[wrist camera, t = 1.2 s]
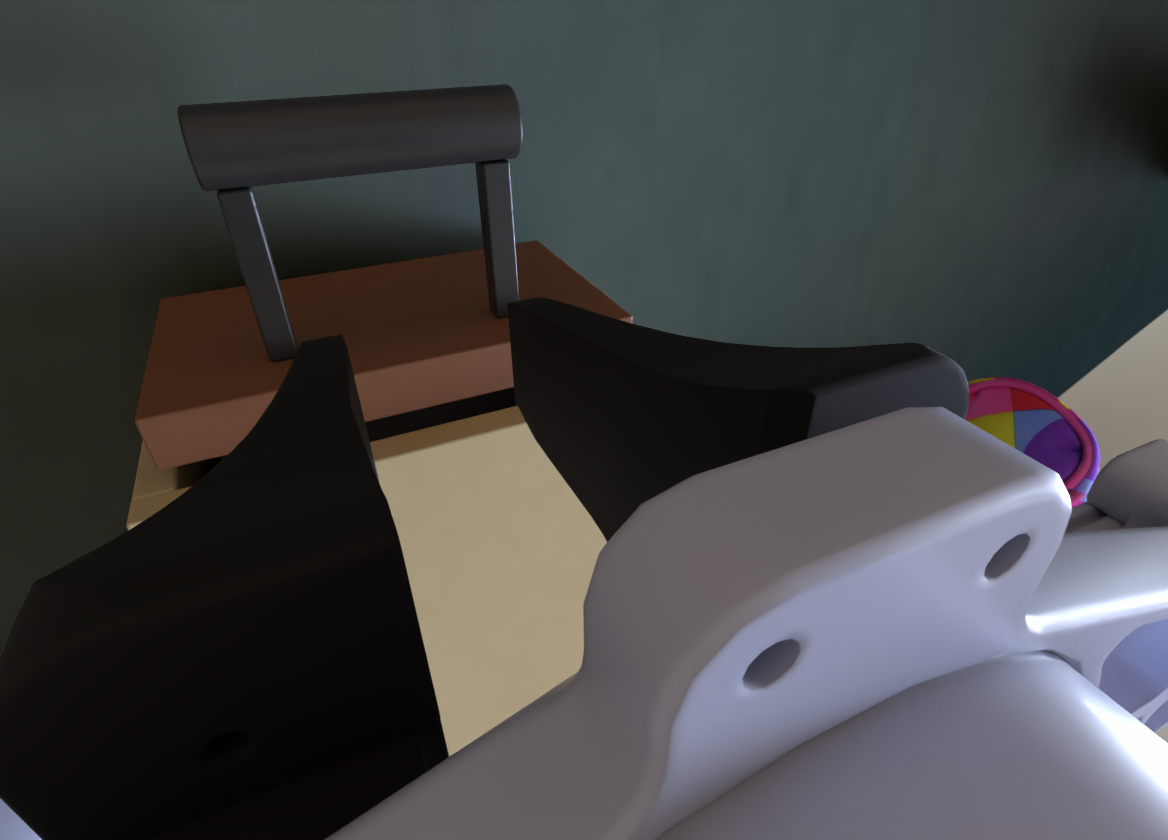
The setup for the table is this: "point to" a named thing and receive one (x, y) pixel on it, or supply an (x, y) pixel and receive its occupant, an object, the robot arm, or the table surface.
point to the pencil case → (1037, 429)
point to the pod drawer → (349, 273)
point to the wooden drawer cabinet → (470, 559)
